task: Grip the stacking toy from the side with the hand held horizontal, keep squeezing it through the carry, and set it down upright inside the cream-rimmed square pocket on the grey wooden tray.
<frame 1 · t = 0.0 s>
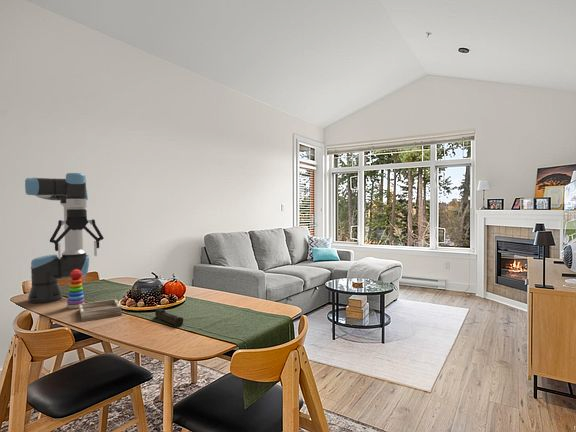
hand: (77, 257, 156), 28 cm above the table, tool pointing down, fingers open, 13 cm apart
hand tool: (166, 322, 154), on the table
stacking toy: (76, 307, 177), on the table
grey wooden tray: (100, 312, 168), on the table
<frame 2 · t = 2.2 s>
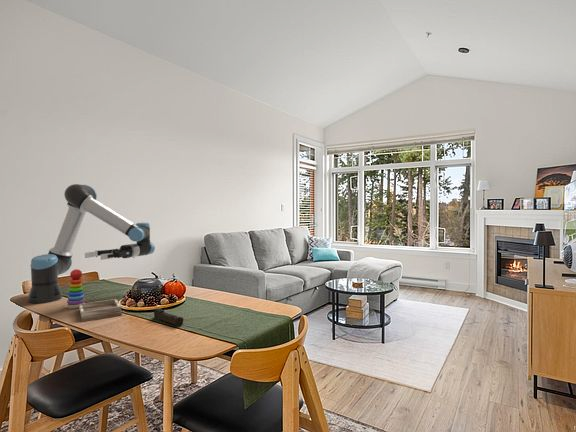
hand: (92, 256, 184), 24 cm above the table, tool horizontal, fingers open, 13 cm apart
nothing on the table moved.
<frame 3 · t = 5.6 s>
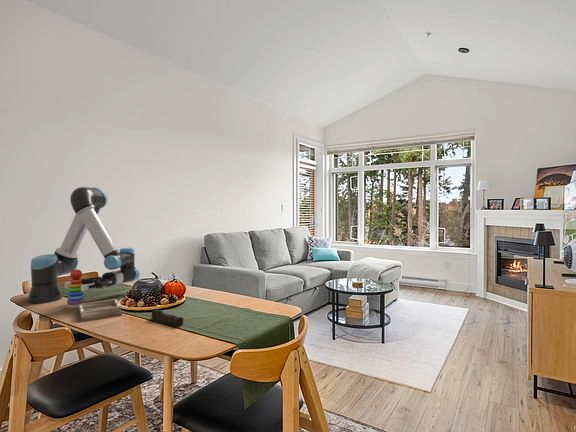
hand: (72, 286, 175), 10 cm above the table, tool horizontal, fingers open, 13 cm apart
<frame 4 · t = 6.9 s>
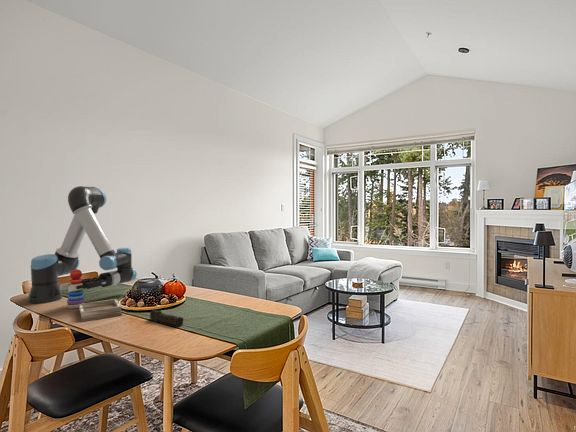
hand: (64, 288, 172), 11 cm above the table, tool horizontal, fingers closed on stacking toy, 6 cm apart
stacking toy: (76, 307, 177), on the table, touching gripper
when the fingers open (13 cm above the table, at t = 12.4 s): stacking toy drops 1 cm, resting on grey wooden tray.
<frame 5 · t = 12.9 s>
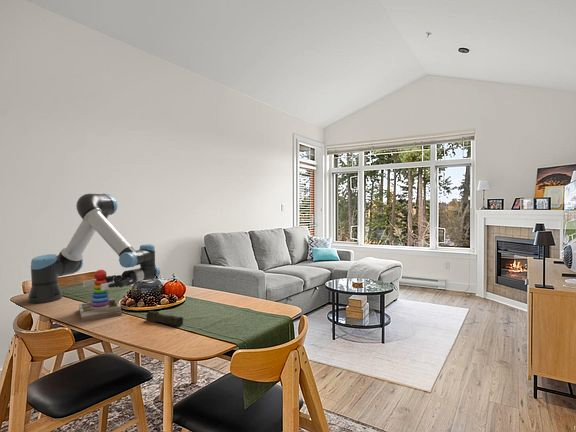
hand: (92, 285, 164), 13 cm above the table, tool horizontal, fingers open, 12 cm apart
stacking toy: (100, 309, 168), point 1 cm above the table, touching grey wooden tray
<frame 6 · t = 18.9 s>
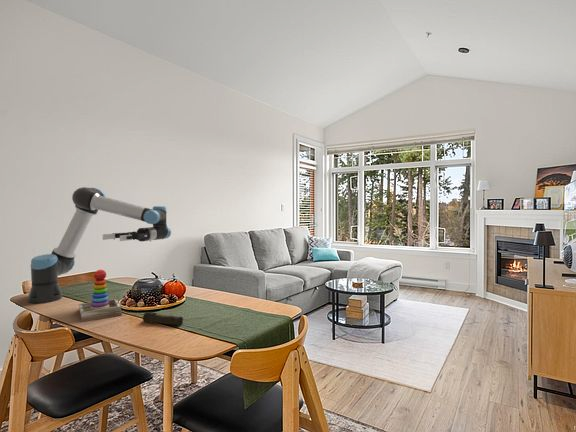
hand: (111, 237, 180), 34 cm above the table, tool horizontal, fingers open, 13 cm apart
at the end: stacking toy inside the target area on the grey wooden tray (0.1 cm from its centre), point 1.3 cm above the grey wooden tray's base; stacking toy tilted 0°; the gripper is holding nothing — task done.
